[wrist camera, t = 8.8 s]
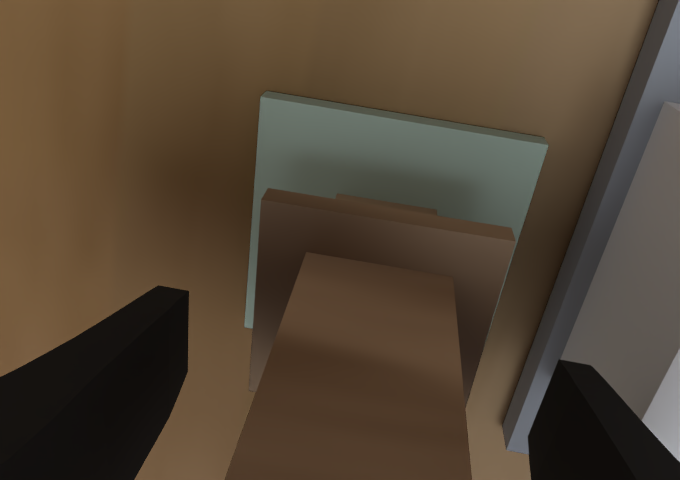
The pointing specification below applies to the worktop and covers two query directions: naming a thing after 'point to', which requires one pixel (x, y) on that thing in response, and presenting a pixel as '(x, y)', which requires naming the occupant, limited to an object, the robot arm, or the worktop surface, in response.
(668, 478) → the robot arm
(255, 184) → the mat
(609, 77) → the worktop surface
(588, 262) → the breaker housing
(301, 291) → the brown block
